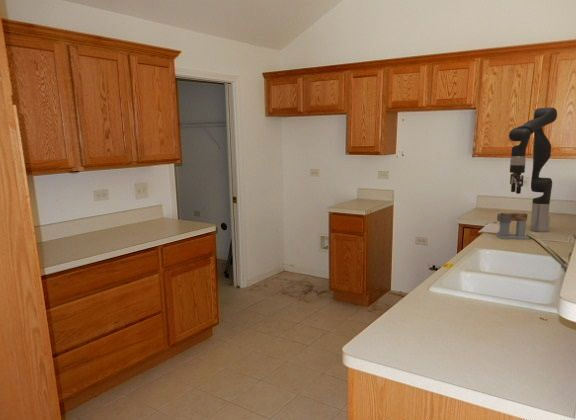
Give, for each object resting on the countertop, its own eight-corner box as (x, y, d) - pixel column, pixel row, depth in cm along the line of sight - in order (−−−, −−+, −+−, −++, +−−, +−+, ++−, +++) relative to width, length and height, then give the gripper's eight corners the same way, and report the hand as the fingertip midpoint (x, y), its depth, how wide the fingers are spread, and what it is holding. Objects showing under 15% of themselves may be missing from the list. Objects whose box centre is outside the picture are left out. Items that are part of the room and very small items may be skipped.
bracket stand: (523, 236, 241) (525, 214, 239) (529, 239, 234) (530, 216, 232) (496, 235, 244) (497, 213, 242) (500, 238, 236) (501, 215, 235)
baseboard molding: (475, 233, 255) (497, 235, 248) (475, 228, 254) (497, 230, 247) (484, 225, 280) (504, 227, 273) (485, 221, 279) (504, 223, 273)
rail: (524, 219, 238) (524, 213, 238) (526, 221, 234) (527, 214, 234) (500, 219, 240) (500, 212, 240) (502, 220, 236) (503, 213, 236)
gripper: (529, 164, 226) (527, 194, 228) (520, 163, 240) (518, 191, 242) (514, 165, 227) (512, 194, 230) (506, 163, 241) (504, 191, 244)
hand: (515, 192), depth 236 cm, fingers open, 8 cm apart
